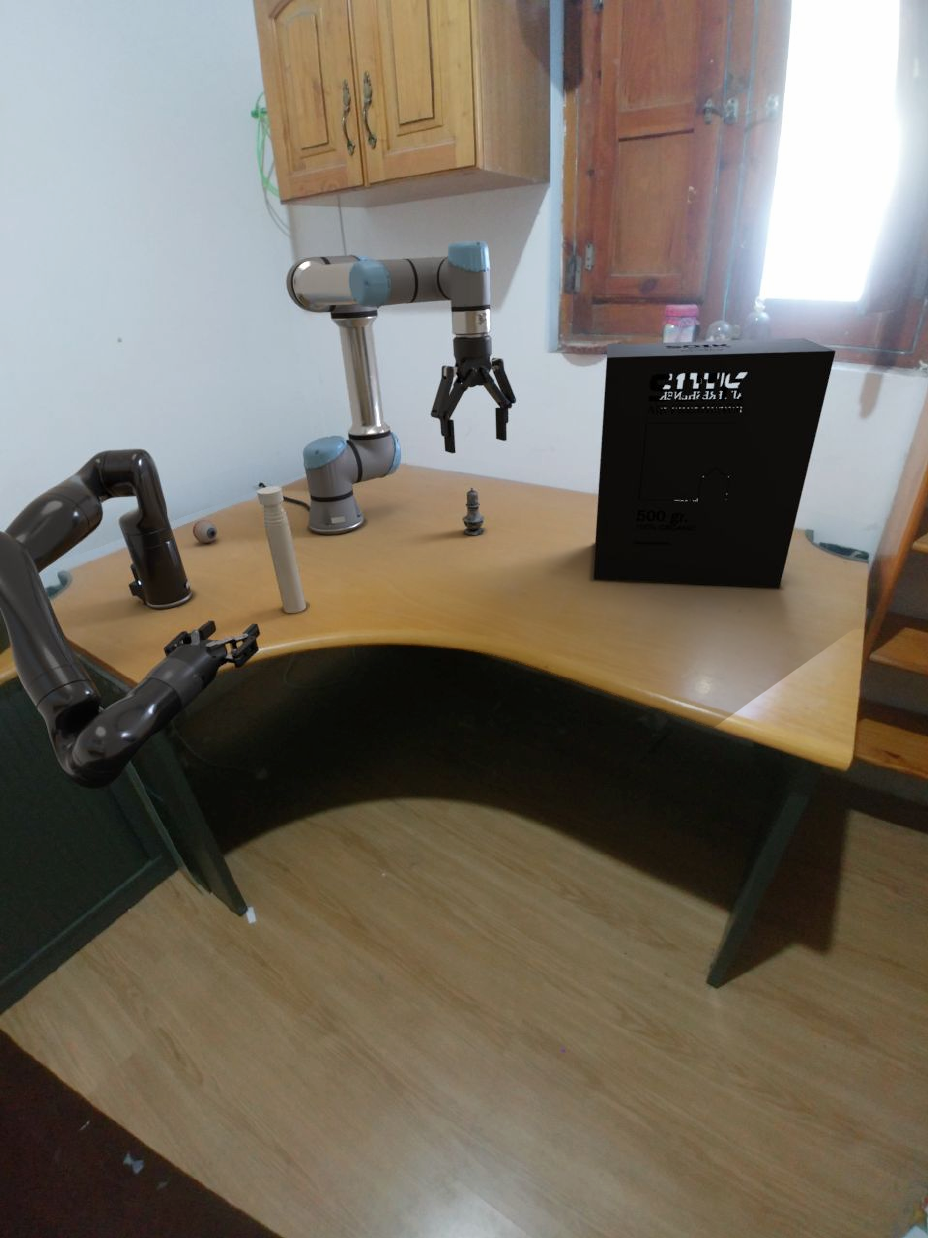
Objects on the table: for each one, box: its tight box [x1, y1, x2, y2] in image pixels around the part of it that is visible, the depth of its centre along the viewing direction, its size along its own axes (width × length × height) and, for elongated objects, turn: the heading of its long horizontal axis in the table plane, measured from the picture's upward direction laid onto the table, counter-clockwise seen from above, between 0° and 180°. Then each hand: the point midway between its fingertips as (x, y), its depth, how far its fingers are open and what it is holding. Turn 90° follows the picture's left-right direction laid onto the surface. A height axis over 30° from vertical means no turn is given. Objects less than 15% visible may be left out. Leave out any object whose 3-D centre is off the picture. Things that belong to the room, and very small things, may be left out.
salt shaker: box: [461, 487, 485, 536], centre depth 157 cm, size 6×6×12 cm
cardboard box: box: [592, 337, 836, 589], centre depth 125 cm, size 38×20×45 cm, turn 78°
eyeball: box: [192, 519, 218, 544], centre depth 162 cm, size 6×6×6 cm
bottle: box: [262, 502, 307, 614], centre depth 122 cm, size 5×5×25 cm
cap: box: [256, 485, 285, 506], centre depth 116 cm, size 4×4×2 cm
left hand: (235, 626), depth 107 cm, fingers open, 8 cm apart
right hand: (476, 445), depth 127 cm, fingers open, 13 cm apart
